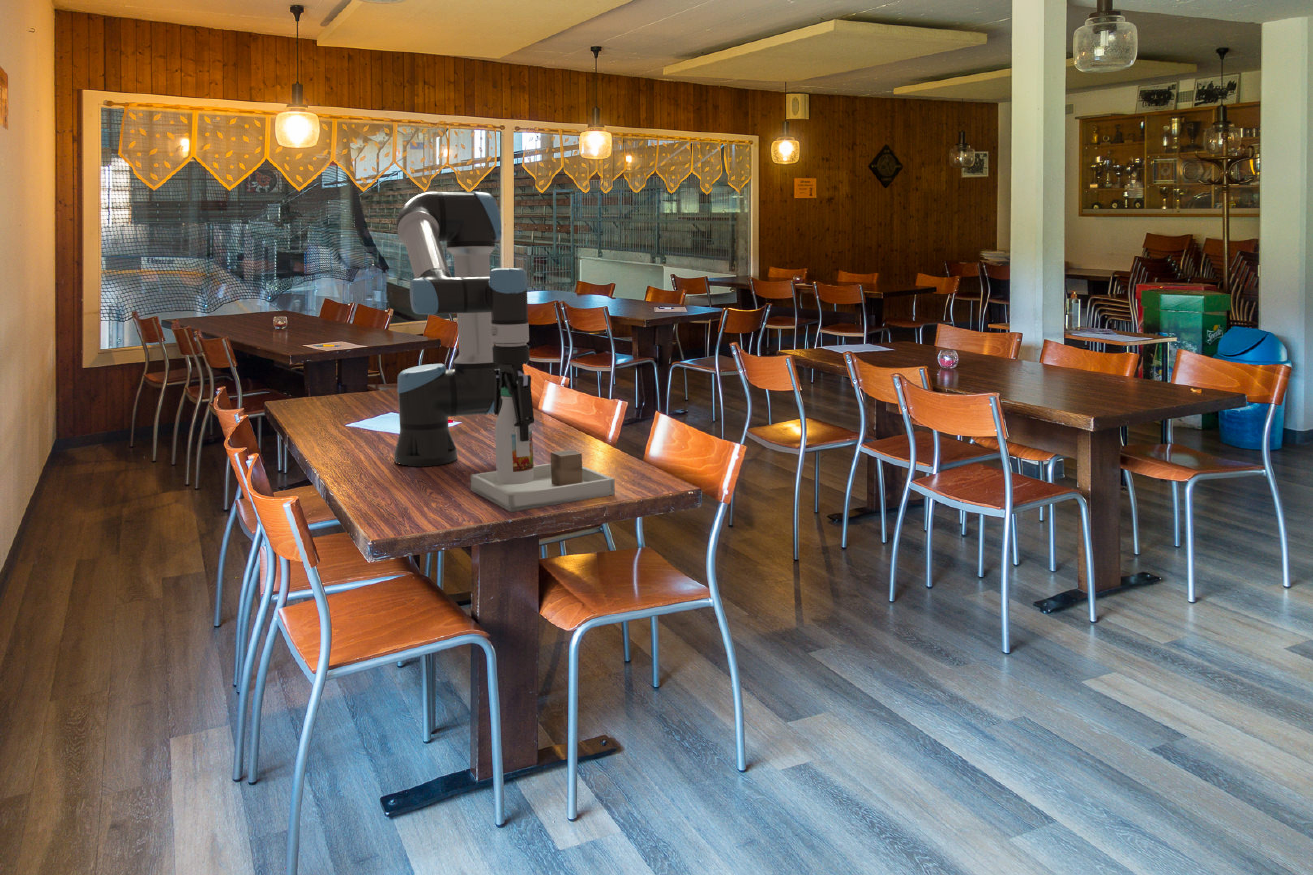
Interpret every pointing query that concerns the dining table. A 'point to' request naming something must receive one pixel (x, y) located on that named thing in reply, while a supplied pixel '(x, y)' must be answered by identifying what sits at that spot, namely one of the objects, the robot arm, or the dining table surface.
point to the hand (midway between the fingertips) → (514, 452)
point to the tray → (541, 489)
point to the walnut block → (566, 467)
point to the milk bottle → (511, 446)
